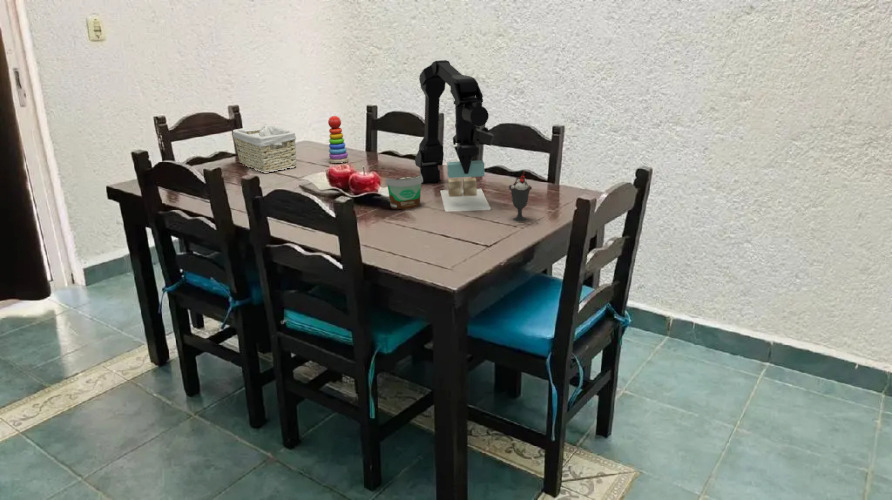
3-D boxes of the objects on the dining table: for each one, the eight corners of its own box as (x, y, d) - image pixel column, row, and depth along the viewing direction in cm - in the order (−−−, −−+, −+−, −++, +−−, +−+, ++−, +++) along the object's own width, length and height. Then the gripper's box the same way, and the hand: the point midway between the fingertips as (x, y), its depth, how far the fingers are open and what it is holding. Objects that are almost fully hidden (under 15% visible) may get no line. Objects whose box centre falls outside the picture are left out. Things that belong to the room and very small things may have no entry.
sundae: (525, 225, 186) (526, 174, 180) (504, 221, 189) (504, 171, 184) (535, 219, 191) (536, 168, 186) (514, 215, 194) (515, 166, 189)
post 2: (464, 196, 214) (464, 181, 212) (463, 192, 217) (463, 178, 216) (476, 195, 214) (476, 180, 212) (475, 192, 218) (475, 177, 216)
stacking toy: (335, 159, 270) (331, 114, 264) (352, 160, 268) (348, 114, 261) (325, 163, 264) (321, 117, 257) (343, 165, 261) (339, 117, 254)
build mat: (445, 212, 199) (445, 211, 198) (440, 191, 221) (440, 190, 221) (491, 210, 199) (491, 209, 199) (481, 189, 222) (481, 188, 222)
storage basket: (301, 168, 258) (297, 131, 252) (263, 176, 248) (258, 137, 242) (271, 159, 274) (267, 124, 269) (235, 166, 264) (230, 129, 259)
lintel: (448, 177, 199) (448, 164, 198) (447, 174, 203) (447, 161, 202) (484, 176, 200) (484, 163, 198) (482, 173, 204) (482, 160, 202)
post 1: (449, 196, 213) (449, 181, 212) (448, 193, 217) (448, 178, 215) (461, 196, 214) (461, 181, 212) (460, 192, 217) (460, 178, 216)
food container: (394, 214, 199) (392, 182, 195) (386, 208, 204) (384, 177, 200) (430, 207, 204) (429, 176, 200) (422, 202, 209) (421, 172, 206)
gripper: (496, 125, 187) (496, 178, 193) (487, 115, 205) (487, 164, 210) (457, 127, 187) (458, 180, 192) (452, 116, 204) (453, 165, 210)
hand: (465, 172), depth 201 cm, fingers closed on lintel, 4 cm apart
